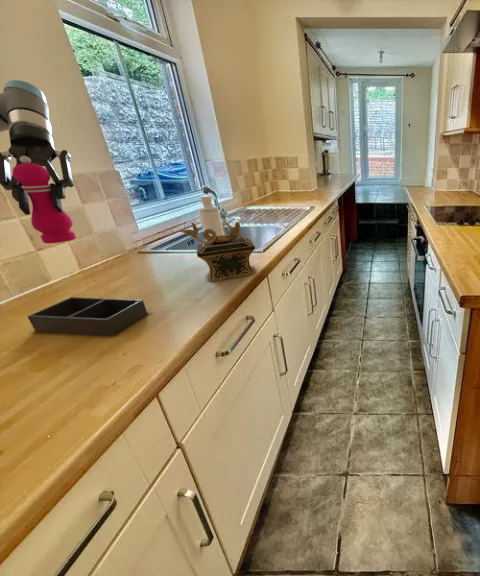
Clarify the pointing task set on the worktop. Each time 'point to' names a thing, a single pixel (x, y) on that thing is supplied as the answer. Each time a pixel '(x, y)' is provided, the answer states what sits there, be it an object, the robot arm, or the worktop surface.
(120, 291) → the worktop surface
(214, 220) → the cream bottle
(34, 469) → the worktop surface
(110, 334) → the divided tray
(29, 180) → the pepper mill
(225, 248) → the decorative box
